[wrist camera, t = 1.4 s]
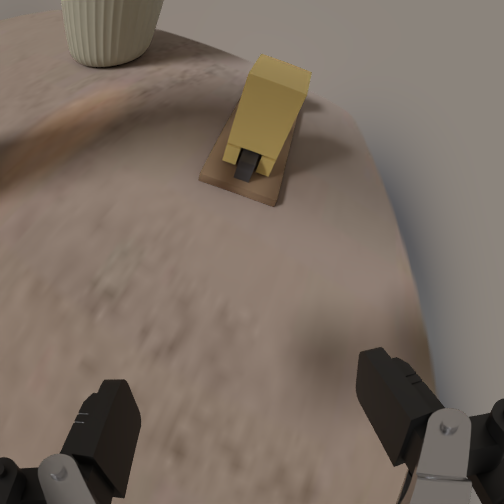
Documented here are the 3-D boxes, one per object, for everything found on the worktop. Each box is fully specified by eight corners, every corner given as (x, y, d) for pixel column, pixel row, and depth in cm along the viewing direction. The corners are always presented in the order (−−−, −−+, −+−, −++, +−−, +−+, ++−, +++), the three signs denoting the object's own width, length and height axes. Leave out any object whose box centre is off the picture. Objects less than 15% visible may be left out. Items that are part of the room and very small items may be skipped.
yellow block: (222, 160, 31) (248, 73, 22) (235, 132, 34) (261, 53, 25) (268, 176, 32) (307, 94, 23) (276, 148, 34) (311, 72, 25)
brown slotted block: (198, 180, 31) (208, 135, 26) (246, 89, 41) (257, 56, 36) (273, 207, 32) (295, 166, 26) (298, 108, 42) (313, 76, 37)
